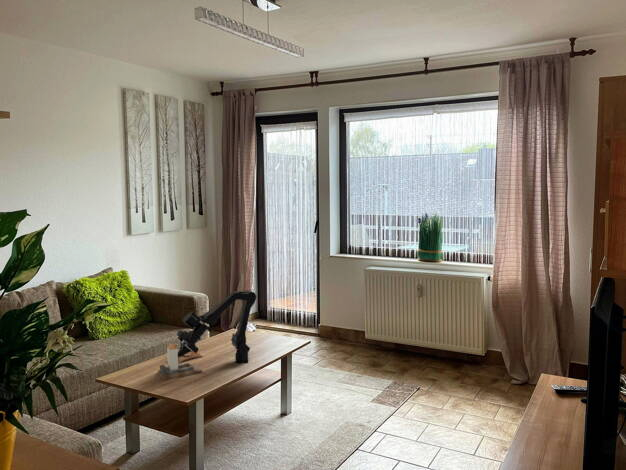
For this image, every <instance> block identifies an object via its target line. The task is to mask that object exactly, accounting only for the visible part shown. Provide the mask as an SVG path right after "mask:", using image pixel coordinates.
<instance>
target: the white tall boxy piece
mask: <svg viewBox="0 0 626 470" xmlns="http://www.w3.org/2000/svg"><path fill="white" fill-rule="evenodd" d="M178 351H179V349H178V348H177V345H176V343H169V345H168V347H166V354H167V355H166V357H167V367H168V371H172V370H177V369H178V365H179V364H178Z"/></svg>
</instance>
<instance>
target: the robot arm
mask: <svg viewBox="0 0 626 470" xmlns="http://www.w3.org/2000/svg"><path fill="white" fill-rule="evenodd" d="M237 300H239V301H241V304H242V307H241V311H240V317H239V322H238V326H237V331H236V332H235V333H232V336H231V340H230V341H231V345H232V346H233V347H234V349H235V350H236V351H235V362H236V364H244V363H245V364H246V363H247V364H248V363H249V352H250V350H251V348H250V347H249V346H248V345H247V336H246V333H247V332H246V331H247V327H248V322H249V318H250V314H251V310H252V308H253V306H254V304H255V302H256V300H257V294H256V293H255V292H254V291H252V290H247V289H246V290H244V291H243V290H242V291H231V292H230V294H229V295H227V297H225V298H224V299H222V301H221V302H220V303H219V304H217V305H216V306H215V307H214V308H211V309H209V310H207V311H206V312H205V313H203V314H202V315H196V314H195V312H193V311H191V312H189V313H187V314H186V315H185V316H184V317H183V319H182V322H183V323H184V324H185V325H187V326H188V327H190V329H192V328H193V329H192V330H189V331H186V330H182V329H178V331H177V333H176V336H177V339H178V340H179V345H180V346H179V349H178V358H179V357H181V356H183V355H185V354H187V353H189V352H192V351H194V352H195V353H197V352H198V353H199V347H197V345H196V344H197V342H198V341H201V339H202V337H203V335H204V334H205V332H209V333H210V332H211V330H212V329H211V326H212V325H215V323H216V322H217V321H218V320H219V318H220V316H221V314H223V312H225V311H226V310H227V309H228V308H229V307H230V306H231V305H233V304H234V303H235V302H236V301H237ZM191 350H192V351H191Z"/></svg>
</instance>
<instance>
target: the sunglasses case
mask: <svg viewBox="0 0 626 470" xmlns="http://www.w3.org/2000/svg"><path fill="white" fill-rule="evenodd" d="M191 351H192V350H191ZM199 358H203V355H201V354H200V353H199V351H198V352H197V353H195V352H194V351H192V352H189V353H187V354H185V355H183V356H181V357H179V358H178V365H181V364H182V363H183V364H184V363H186V362H188V361H192V360H196V359H199Z"/></svg>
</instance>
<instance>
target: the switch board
mask: <svg viewBox="0 0 626 470" xmlns="http://www.w3.org/2000/svg"><path fill="white" fill-rule="evenodd" d="M202 373H203V369H202V368H201V367H200V366H199V365H197V364H196V363H189V362H187V363H186V362H185V363H183V364H182V363H180V364H178V369H177V370H172V371H168V366H166V365H165V364H161V365H159V369H158V370H157V374H158V375H159V376H160V377H161V379H163V380H164V381H165V380H171V379H175V378H181V377H187V376H191V375H197V374H202Z"/></svg>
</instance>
